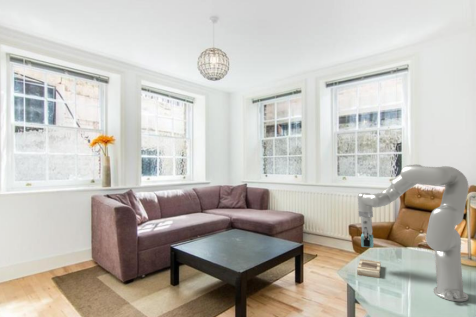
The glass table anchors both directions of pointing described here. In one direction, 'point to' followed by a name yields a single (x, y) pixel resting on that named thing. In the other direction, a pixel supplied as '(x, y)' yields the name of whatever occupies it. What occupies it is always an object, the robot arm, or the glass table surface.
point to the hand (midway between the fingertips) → (367, 244)
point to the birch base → (369, 268)
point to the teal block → (369, 239)
